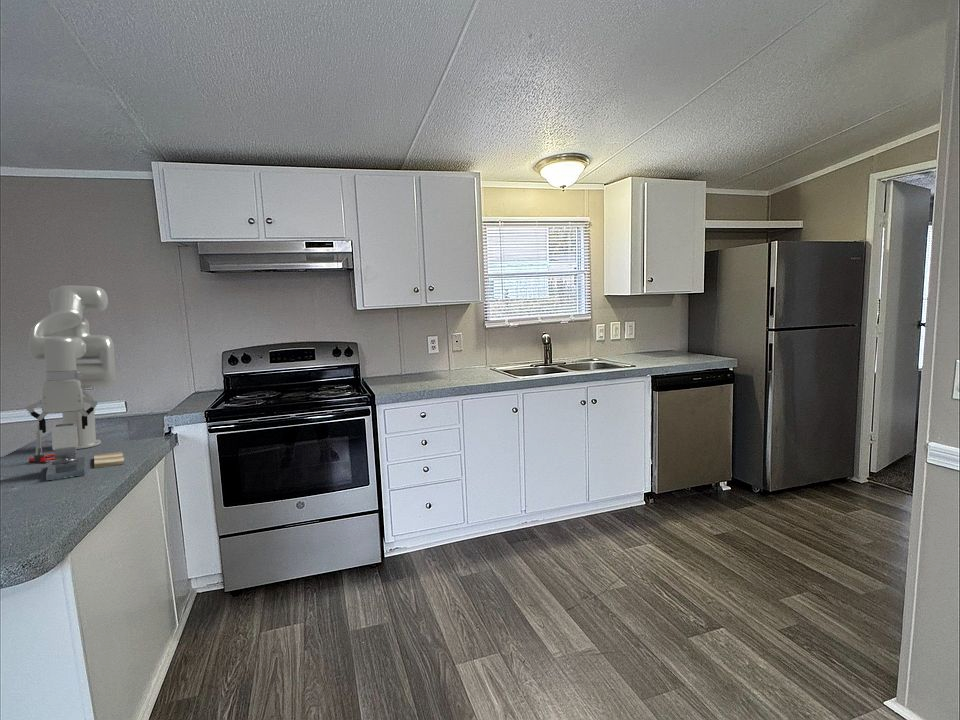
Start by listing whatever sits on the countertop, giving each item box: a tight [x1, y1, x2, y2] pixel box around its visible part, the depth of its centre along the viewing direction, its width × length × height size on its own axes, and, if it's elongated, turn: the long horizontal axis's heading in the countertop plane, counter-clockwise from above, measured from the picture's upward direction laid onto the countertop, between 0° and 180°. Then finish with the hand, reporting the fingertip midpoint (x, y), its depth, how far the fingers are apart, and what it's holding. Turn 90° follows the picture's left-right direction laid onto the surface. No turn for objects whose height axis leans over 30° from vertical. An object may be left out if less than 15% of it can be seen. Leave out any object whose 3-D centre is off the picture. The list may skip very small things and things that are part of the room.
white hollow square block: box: [50, 422, 78, 451], centre depth 159 cm, size 6×6×7 cm
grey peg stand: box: [45, 447, 86, 482], centre depth 159 cm, size 18×9×14 cm, turn 38°
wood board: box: [93, 451, 126, 469], centre depth 171 cm, size 14×8×1 cm, turn 38°
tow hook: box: [28, 424, 55, 463], centre depth 173 cm, size 8×13×9 cm
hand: (64, 430), depth 158 cm, fingers open, 9 cm apart
